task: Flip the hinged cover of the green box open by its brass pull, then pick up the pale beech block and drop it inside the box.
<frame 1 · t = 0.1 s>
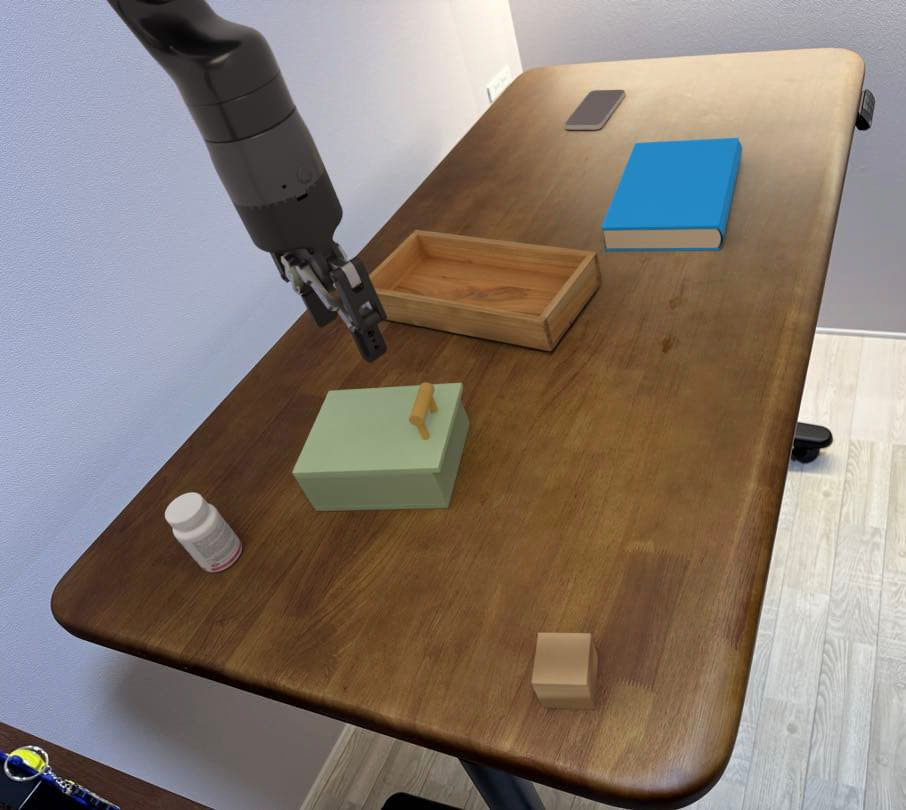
hand: (351, 338, 71), 22 cm above the table, tool pointing down, fingers open, 8 cm apart
block: (570, 683, 67), on the table
book: (676, 204, 118), on the table
smartphone: (596, 112, 147), on the table
tray: (482, 304, 110), on the table
green box: (395, 466, 90), on the table
pill bottle: (223, 556, 85), on the table
cover: (374, 416, 84), point 8 cm above the table, hinge at 0.0°
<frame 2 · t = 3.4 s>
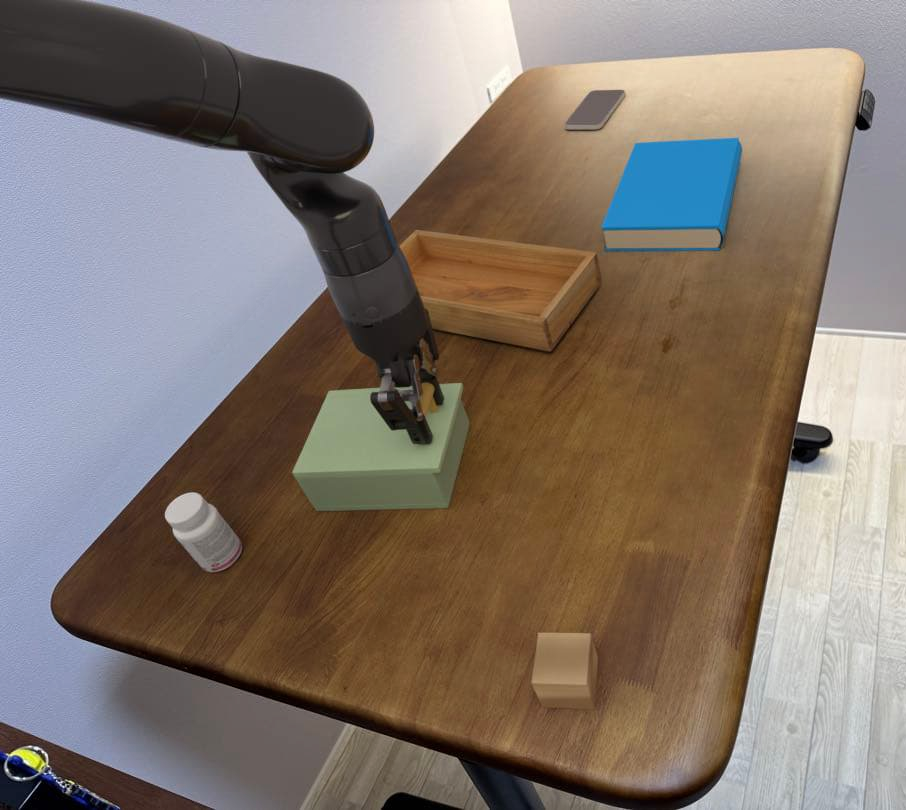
hand: (429, 421, 83), 7 cm above the table, tool pointing down, fingers closed on cover, 5 cm apart
cover: (374, 416, 84), point 8 cm above the table, hinge at -0.1°, touching gripper
everything else where it was.
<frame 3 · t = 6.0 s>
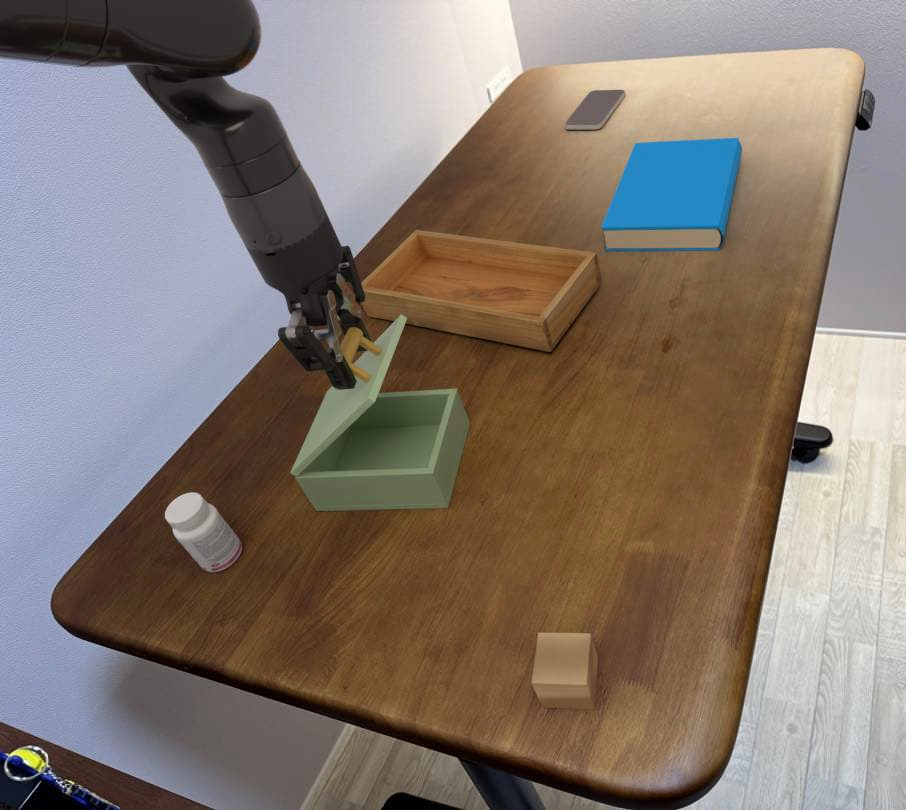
hand: (355, 367, 79), 15 cm above the table, tool pointing down, fingers closed on cover, 5 cm apart
cover: (332, 386, 81), point 13 cm above the table, hinge at 38.8°, touching gripper
everything else where it was.
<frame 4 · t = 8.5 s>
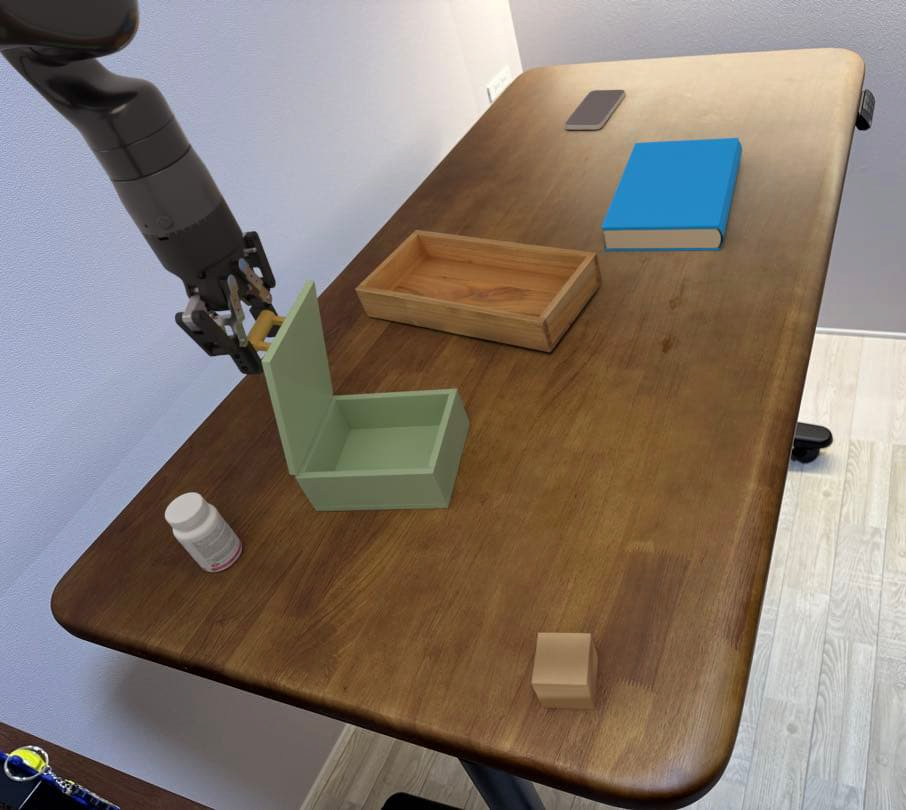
hand: (265, 352, 79), 18 cm above the table, tool pointing down, fingers closed on cover, 5 cm apart
cover: (283, 376, 81), point 15 cm above the table, hinge at 74.6°, touching gripper
everything else where it was.
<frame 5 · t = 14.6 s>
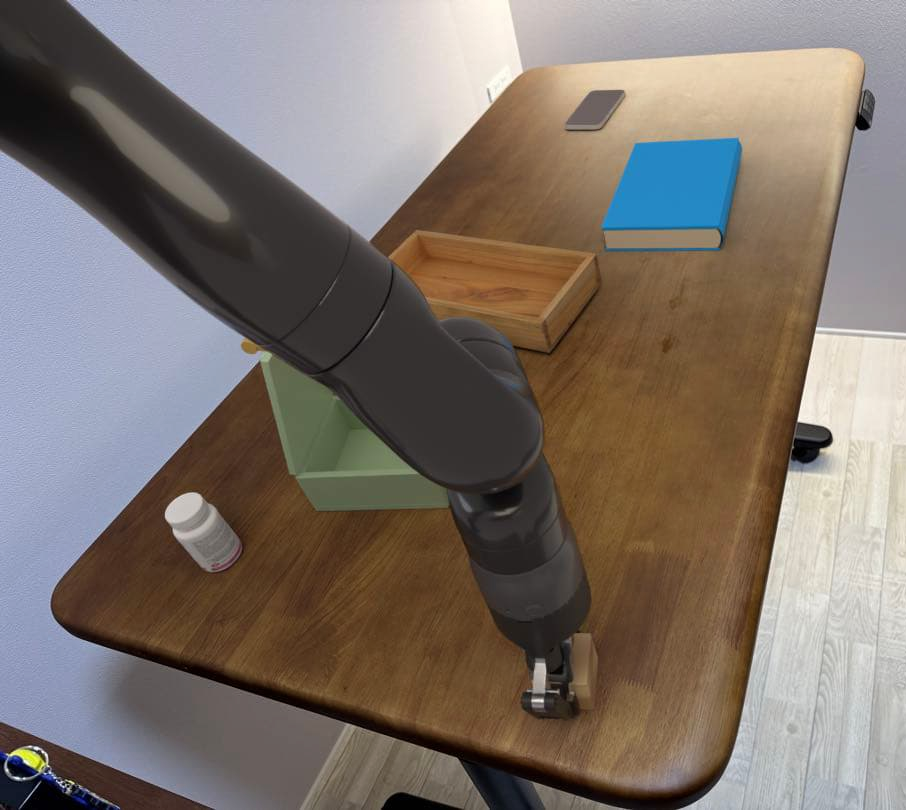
hand: (570, 681, 66), 0 cm above the table, tool pointing down, fingers closed on block, 4 cm apart
block: (570, 683, 67), on the table, touching gripper
cover: (283, 376, 81), point 15 cm above the table, hinge at 75.1°
everything else where it was.
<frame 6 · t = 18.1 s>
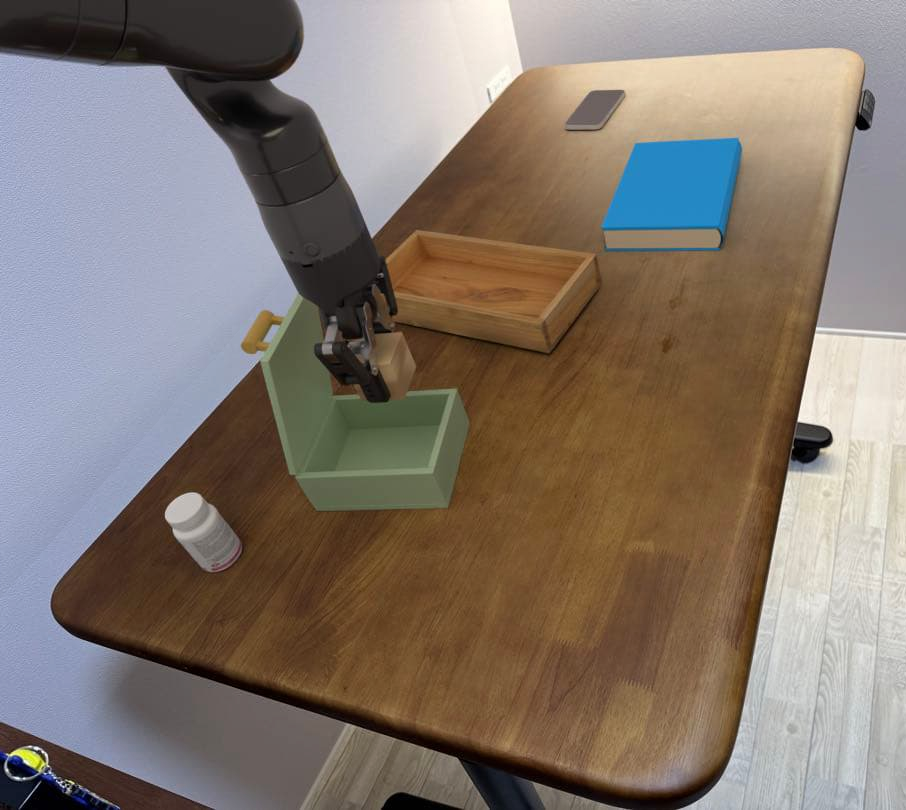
hand: (387, 381, 76), 16 cm above the table, tool pointing down, fingers closed on block, 4 cm apart
block: (389, 383, 76), point 15 cm above the table, touching gripper
everything else where it was.
when the fingers open (4 cm above the table, at t = 21.7 s): block drops 3 cm, resting on green box.
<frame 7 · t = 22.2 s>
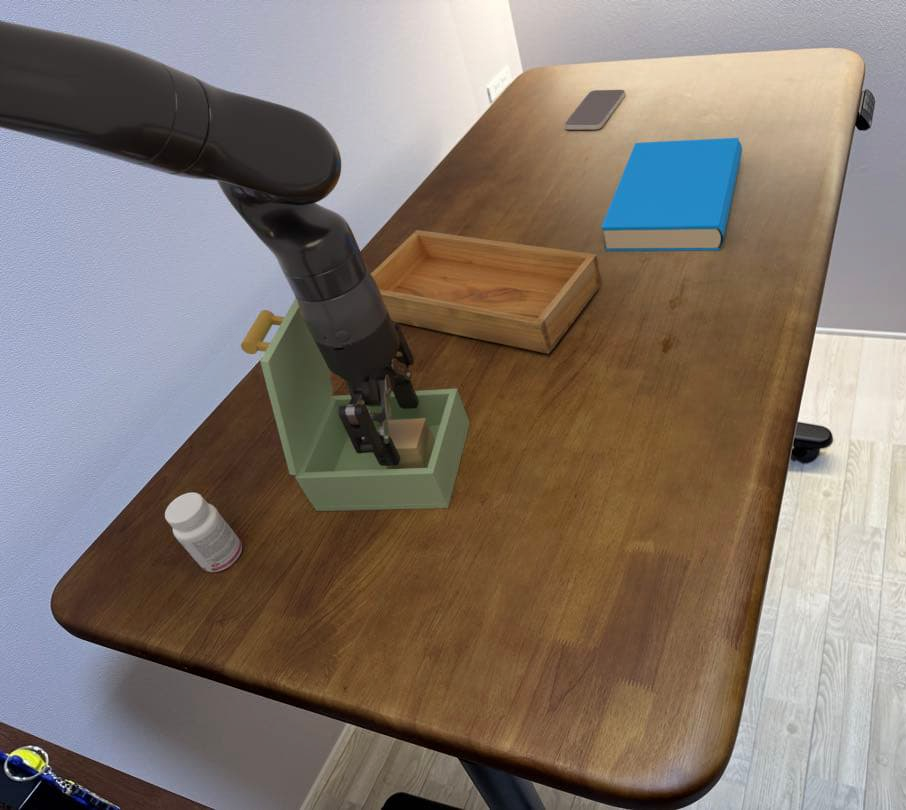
hand: (401, 434, 85), 5 cm above the table, tool pointing down, fingers open, 8 cm apart
block: (414, 460, 88), point 1 cm above the table, touching green box
everything else where it was.
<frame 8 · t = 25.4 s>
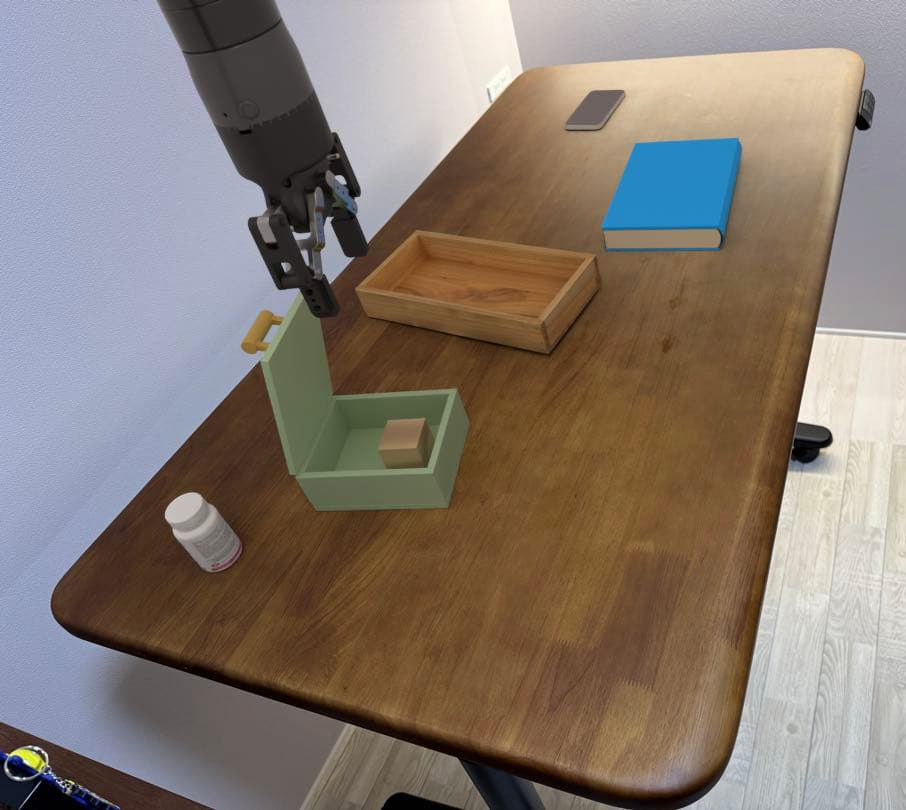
hand: (343, 283, 66), 28 cm above the table, tool pointing down, fingers open, 8 cm apart
nothing on the table moved.
at the end: cover at +75° (first picture: +0°); block inside the target area in the green box (2.5 cm from its centre), point 0.8 cm above the green box's base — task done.
